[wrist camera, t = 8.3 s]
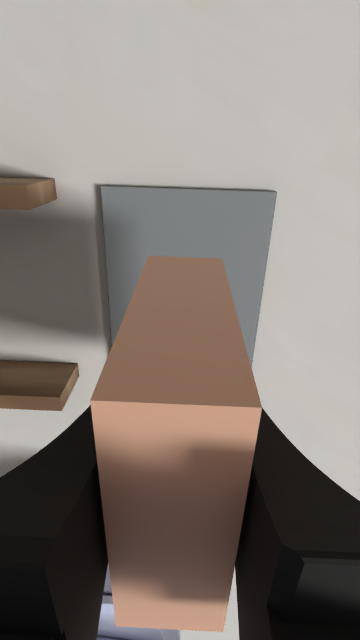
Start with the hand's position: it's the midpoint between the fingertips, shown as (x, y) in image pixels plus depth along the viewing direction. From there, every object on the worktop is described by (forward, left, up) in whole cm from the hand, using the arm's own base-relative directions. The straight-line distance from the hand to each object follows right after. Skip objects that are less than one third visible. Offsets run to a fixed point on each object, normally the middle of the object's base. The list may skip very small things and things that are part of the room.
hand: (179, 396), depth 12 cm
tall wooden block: (0, 0, -4) cm, 4 cm away
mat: (0, 0, -9) cm, 9 cm away
